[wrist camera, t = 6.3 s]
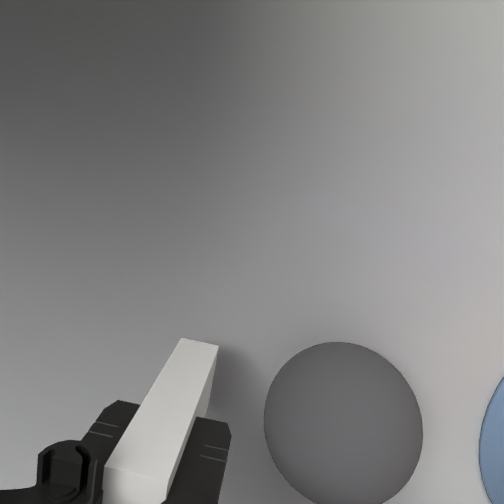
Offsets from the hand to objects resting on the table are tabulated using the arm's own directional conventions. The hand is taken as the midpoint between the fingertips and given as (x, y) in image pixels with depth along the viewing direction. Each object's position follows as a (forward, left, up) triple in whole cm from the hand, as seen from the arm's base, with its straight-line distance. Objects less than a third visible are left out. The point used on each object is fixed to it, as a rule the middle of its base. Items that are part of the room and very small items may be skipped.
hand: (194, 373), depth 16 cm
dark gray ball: (+3, +4, +1) cm, 6 cm away
